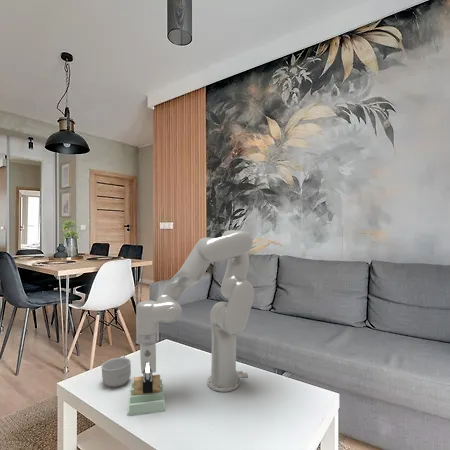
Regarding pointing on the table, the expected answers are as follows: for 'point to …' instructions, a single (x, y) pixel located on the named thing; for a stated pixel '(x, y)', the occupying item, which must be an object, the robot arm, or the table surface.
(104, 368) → the teacup
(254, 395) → the table surface
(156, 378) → the oak board
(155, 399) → the dish rack
